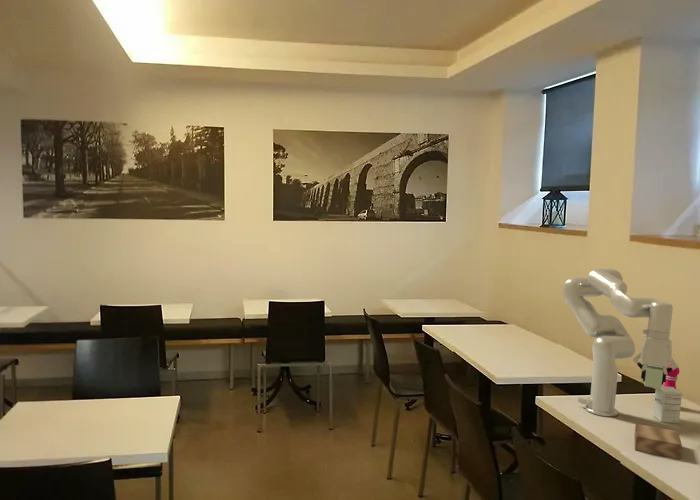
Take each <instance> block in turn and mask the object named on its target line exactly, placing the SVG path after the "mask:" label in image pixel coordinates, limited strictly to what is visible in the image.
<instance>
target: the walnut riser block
mask: <svg viewBox="0 0 700 500" xmlns="http://www.w3.org/2000/svg"><path fill="white" fill-rule="evenodd" d="M679 433H680V431H679V430H678V431H677V430H674V429H673V430H672V429H667V428H661V427H656V426H652V425H651V426H650V425H644V424H639V423H635V426H634V437H633V438H634V439H633V440H634V451H637V452H644V453H647V454H652V455H653V454H654V455H657V454H658V456H662V455H663V456H664V457H668V458H673V459H679V460H681V456H682V455H681V454H682V446H683V444H682V441H681V436H680V434H679Z"/></svg>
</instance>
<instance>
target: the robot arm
mask: <svg viewBox="0 0 700 500" xmlns="http://www.w3.org/2000/svg"><path fill="white" fill-rule="evenodd" d="M623 278H624V277H623V276H622V273H621V272H619V271H618V270H617V269H614V268H596V269H595V268H594V269H592V270H591V271H589V273H588V274H587V276H586V277H584V276H583V277H582V276H581V277H580V276H578V277H569V278H568V279H567V280H565V281H564V283H563V285H562V297H563V300H564V302H565V304H566V305H567V306H568V308H569V309H570V310H571V312H572V313H573V314H574V316H575V318H576V319H577V321H578V323H579V324H580V326H581V328H582V329H583V331H584V332H585V334H586V335H587V336H588V337H589V338H594V340H593V343H592V344H591V345H592V346H591V350H592V375H591V384H590V386H591V387H590V396H589V398H588V397H587V398H583V397H578V402H577V403H580V404H581V405H585V410H586V411H587V412H589V413H591V414H594V415H598V416H602V417H615V416H618V415H619V411H618V409H617V408H616V395H617V385H618V375H619V374H618V373H619V372H618V365H617V363H616V361H615V360H622V359H625V360H626V359H629V358H632V357H633V356H634V355H635V353H636V345H635V344H636V343H634V340H633V338H632V336H631V335H630V334H629V332H628V331H627V329H626V327H625V326H624V324H623V323H622V321H620V319H619V318H617V317H616V316H614V315H611V314H603V315H602V314H600V313H599V312H598V311H597V309H596V308H595V306H594V305H593V304H592V303H591V302H590V301H589V300H587V299H586V298H587V297H588V298H590V297H594V298H595V297H600V296H603V295H604V296H606V297H607V298H608V299H609V300H610V301H609V302H610V303H611V306H612V307H613V309H615V310H616V311H618V312H619V313H621V314H622V315H624V316H626V317H628V318H636V319H637V318H648V322H647V329H643V330H642V334H645V335H646V336H644V338H643V341H642V345H641V349H640V350H641V351H640V353H638V354H637V355H636V356H634V358H633V359H632V361H633V362H634V363H635V364H636V365H637V366H638V367H639V369H640V370H641V376H640V379H642V382H643V383H644V382H645V376H646V367H647V365H652V366H659V367H662V368H663V377H662V385H661V386H664V383H665V382H666V375H667V374H668V373H669V372H671V371H672V370H674V369H676V368H677V367H678V364H677V363H676V362H675V360H674V359H673V358H672V353H673V345H672V344H673V343H672V339H670V336H671V326H672V320H673V319H672V318H673V311H674V308H673V304H671V303H670V302H666V301H660V300H658V299H656V298H653V297H631V296H629V295H627V292H628V285H627V283H626V282H625V281H624V279H623ZM585 297H586V298H585ZM671 364H672V366H671V367H670V365H671ZM666 367H669V368H667V369H666ZM678 368H679V367H678Z"/></svg>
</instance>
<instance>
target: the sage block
mask: <svg viewBox="0 0 700 500" xmlns="http://www.w3.org/2000/svg"><path fill="white" fill-rule="evenodd" d="M662 377H663V368H662V367H659V366H652V365H647V367H646V376H645V382H643V384H644V387H647V388H654V389H656V388H659V389H661V386H663V385H662Z"/></svg>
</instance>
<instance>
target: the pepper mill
mask: <svg viewBox="0 0 700 500" xmlns="http://www.w3.org/2000/svg"><path fill="white" fill-rule="evenodd" d="M671 366H672V364H671V365H670V367H671ZM667 368H669V367H666V369H667ZM679 374H680V368H679V367H677V368H676V369H674V370H672V371H671V372H669V373H668V374H667V375H666V382H664V383H663V385H662V386H663V387H673V388H675V389H677V387H676V386H677V385H676V383H677V381H678V375H679Z"/></svg>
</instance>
